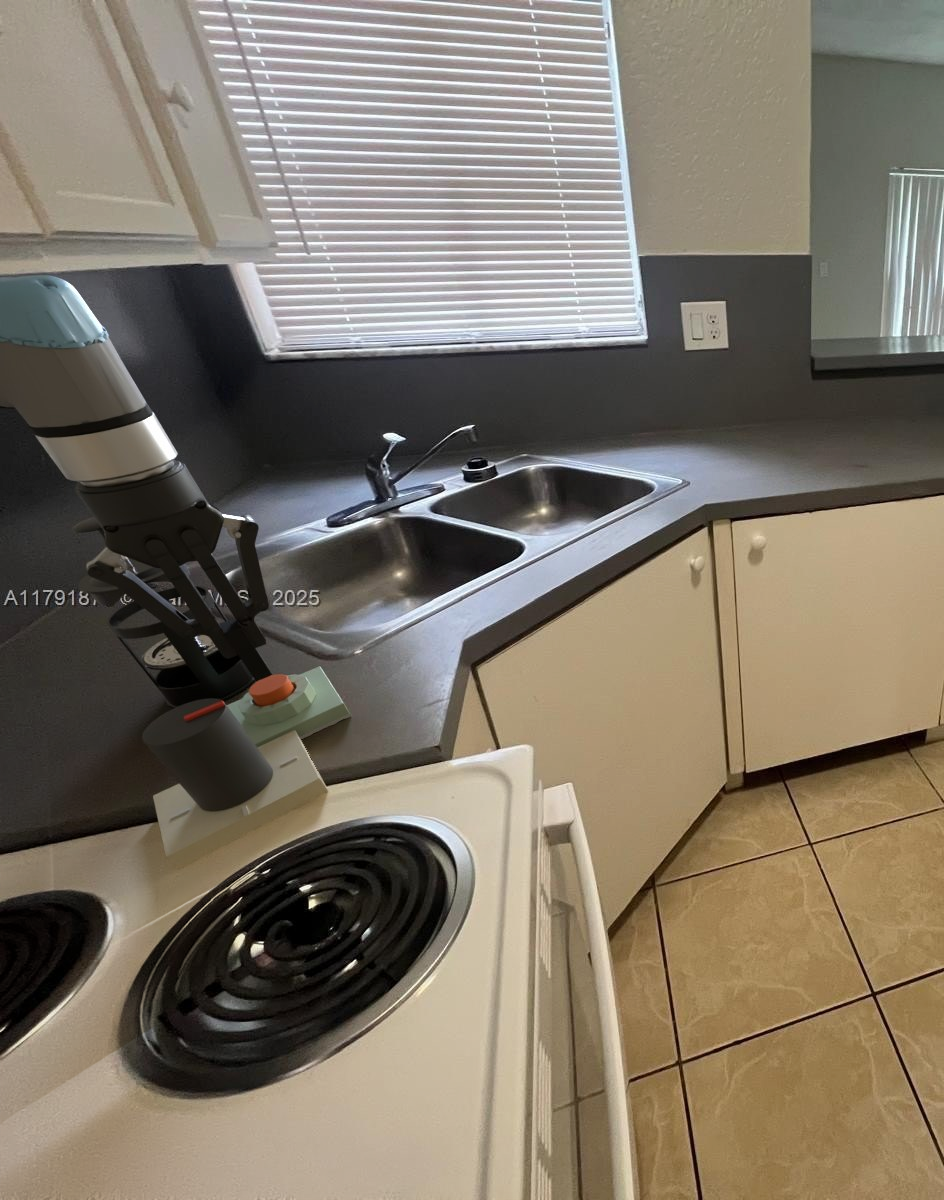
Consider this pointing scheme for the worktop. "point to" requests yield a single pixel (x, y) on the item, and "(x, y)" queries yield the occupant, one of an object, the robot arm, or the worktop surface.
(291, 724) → the button box
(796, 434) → the worktop surface
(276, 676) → the button
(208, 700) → the oven knob
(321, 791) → the panel
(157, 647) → the french press
